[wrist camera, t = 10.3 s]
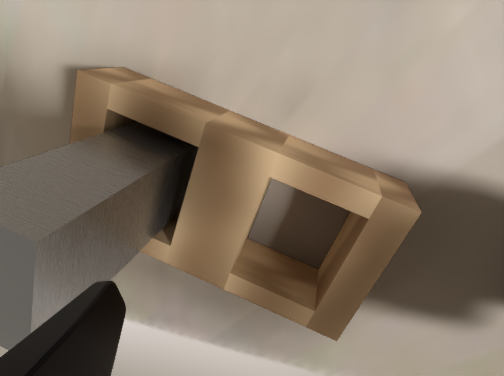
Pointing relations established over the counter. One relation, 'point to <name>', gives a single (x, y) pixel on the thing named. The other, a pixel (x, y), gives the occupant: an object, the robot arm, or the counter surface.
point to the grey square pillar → (82, 217)
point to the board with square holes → (254, 200)
